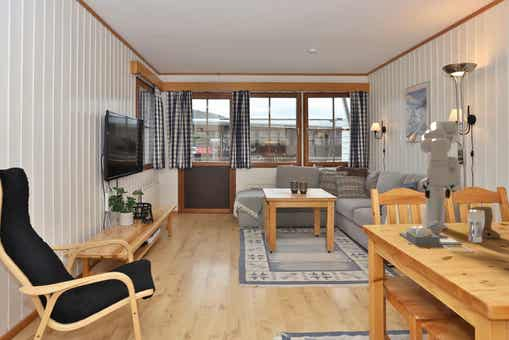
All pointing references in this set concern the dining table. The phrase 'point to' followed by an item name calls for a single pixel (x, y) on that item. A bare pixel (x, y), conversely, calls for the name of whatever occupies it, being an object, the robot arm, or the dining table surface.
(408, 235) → the game board
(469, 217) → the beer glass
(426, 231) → the dome button
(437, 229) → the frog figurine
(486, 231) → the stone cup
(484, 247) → the dining table surface
